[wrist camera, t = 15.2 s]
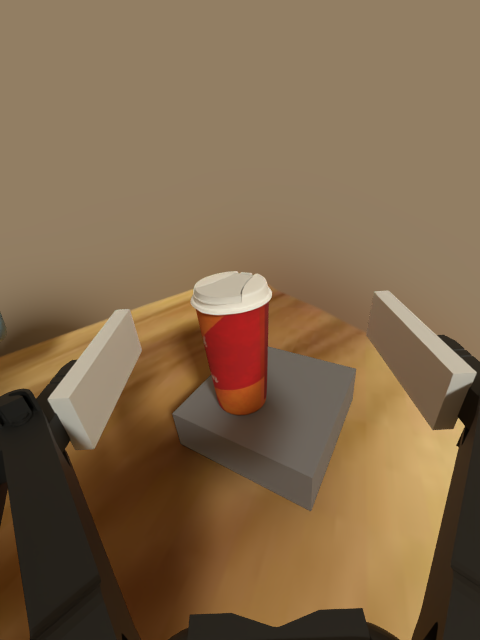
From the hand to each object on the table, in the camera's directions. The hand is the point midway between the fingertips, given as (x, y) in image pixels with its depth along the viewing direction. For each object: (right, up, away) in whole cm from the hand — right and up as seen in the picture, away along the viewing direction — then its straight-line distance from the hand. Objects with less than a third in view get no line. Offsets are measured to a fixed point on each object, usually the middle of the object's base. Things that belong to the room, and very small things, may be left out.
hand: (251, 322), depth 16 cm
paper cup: (0, -9, +18) cm, 20 cm away
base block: (+3, -12, +21) cm, 24 cm away
